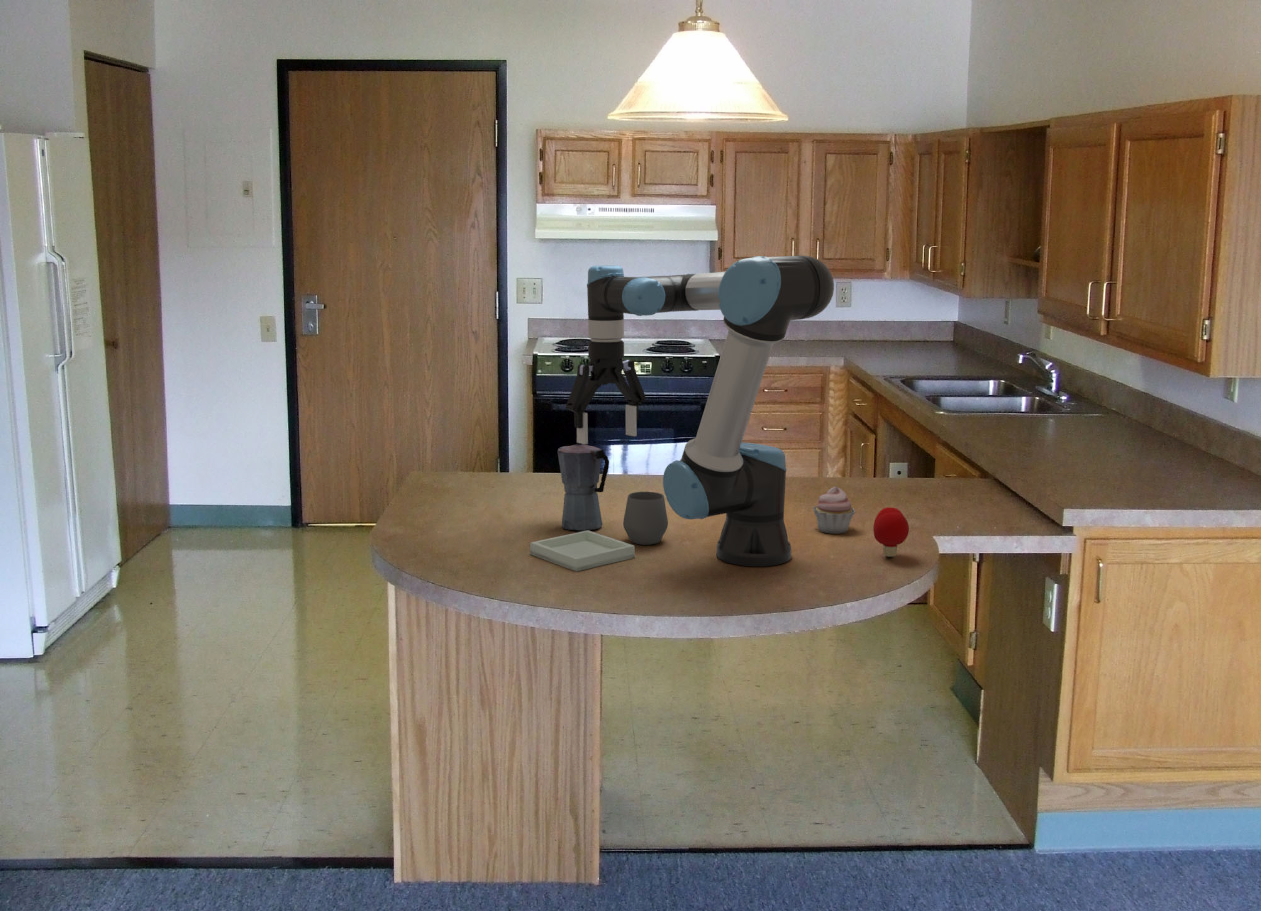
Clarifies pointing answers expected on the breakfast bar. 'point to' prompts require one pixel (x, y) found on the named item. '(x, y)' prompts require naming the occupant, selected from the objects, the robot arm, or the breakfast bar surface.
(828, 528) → the cupcake
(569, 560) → the tray
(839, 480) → the breakfast bar surface
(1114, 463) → the breakfast bar surface
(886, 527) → the light bulb
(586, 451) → the moka pot
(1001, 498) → the breakfast bar surface
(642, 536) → the cup
